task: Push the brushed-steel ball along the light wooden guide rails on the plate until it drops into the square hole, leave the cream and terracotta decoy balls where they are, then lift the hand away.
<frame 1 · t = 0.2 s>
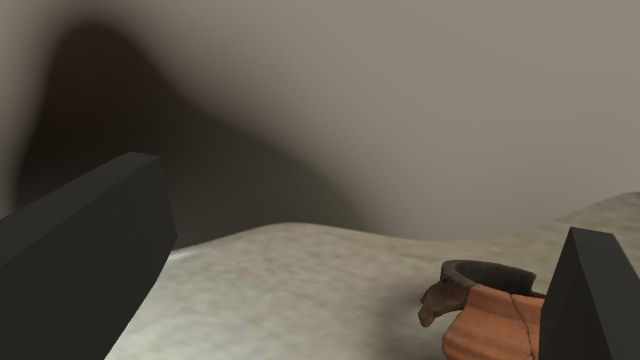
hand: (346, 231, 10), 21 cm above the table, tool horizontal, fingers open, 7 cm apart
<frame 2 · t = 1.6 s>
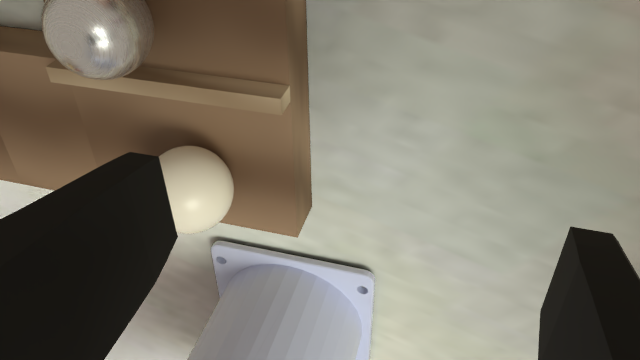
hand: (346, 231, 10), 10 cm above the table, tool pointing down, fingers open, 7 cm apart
steel ball: (99, 27, 17), point 4 cm above the table, touching hole plate
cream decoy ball: (189, 189, 21), point 4 cm above the table, touching hole plate
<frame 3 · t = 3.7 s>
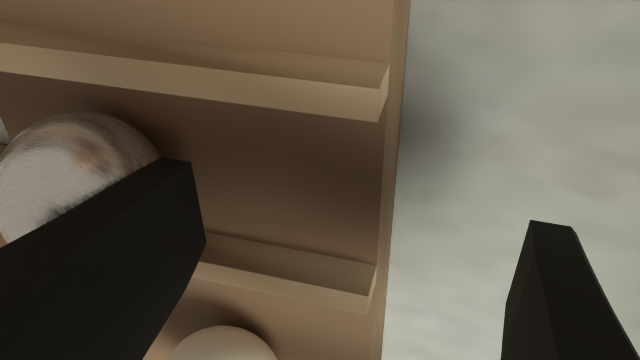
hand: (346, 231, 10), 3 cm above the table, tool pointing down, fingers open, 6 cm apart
steel ball: (85, 193, 11), point 4 cm above the table, touching gripper, hole plate
hole plate: (85, 91, 14), on the table
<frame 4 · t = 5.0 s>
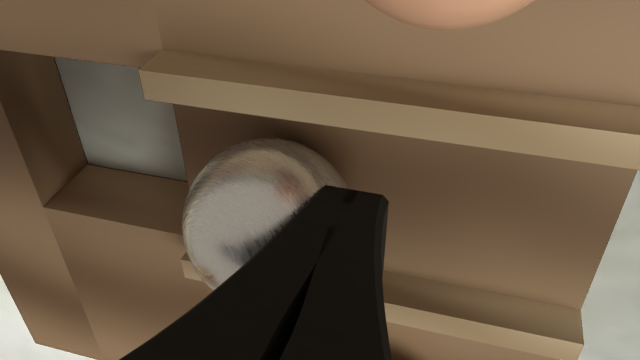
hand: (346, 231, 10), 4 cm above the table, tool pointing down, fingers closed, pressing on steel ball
steel ball: (269, 223, 11), point 4 cm above the table, tilted 25°, touching gripper, hole plate
hole plate: (249, 122, 14), on the table
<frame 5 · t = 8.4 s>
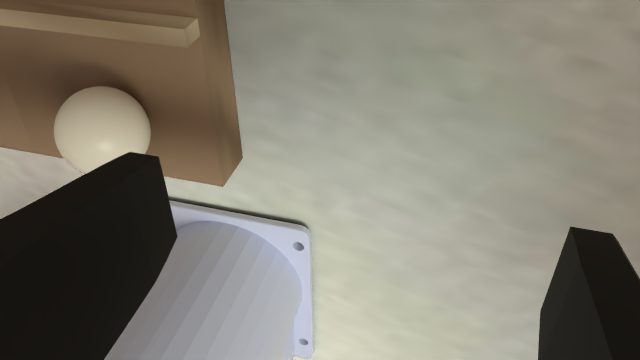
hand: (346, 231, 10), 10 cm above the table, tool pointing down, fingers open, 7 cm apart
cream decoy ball: (103, 131, 20), point 4 cm above the table, touching hole plate
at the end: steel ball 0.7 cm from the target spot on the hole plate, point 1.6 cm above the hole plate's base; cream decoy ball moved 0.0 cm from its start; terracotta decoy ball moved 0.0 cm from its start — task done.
